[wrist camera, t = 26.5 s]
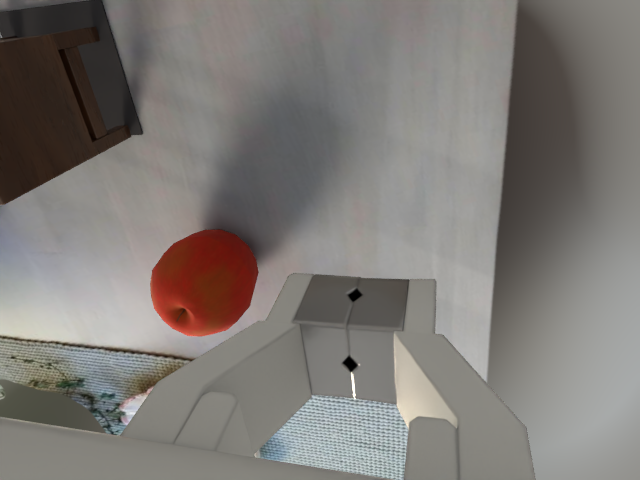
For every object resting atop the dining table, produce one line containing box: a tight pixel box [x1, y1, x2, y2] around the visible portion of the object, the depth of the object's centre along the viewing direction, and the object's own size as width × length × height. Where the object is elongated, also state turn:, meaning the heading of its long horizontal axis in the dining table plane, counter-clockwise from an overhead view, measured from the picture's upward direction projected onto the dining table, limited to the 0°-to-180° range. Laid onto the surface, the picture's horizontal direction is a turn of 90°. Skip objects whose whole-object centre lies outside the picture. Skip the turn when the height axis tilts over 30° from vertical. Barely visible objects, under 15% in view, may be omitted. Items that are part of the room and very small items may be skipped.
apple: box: [150, 229, 258, 336], centre depth 45 cm, size 10×10×12 cm
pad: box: [0, 0, 143, 135], centre depth 43 cm, size 12×12×1 cm
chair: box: [0, 27, 131, 205], centre depth 37 cm, size 10×10×16 cm
